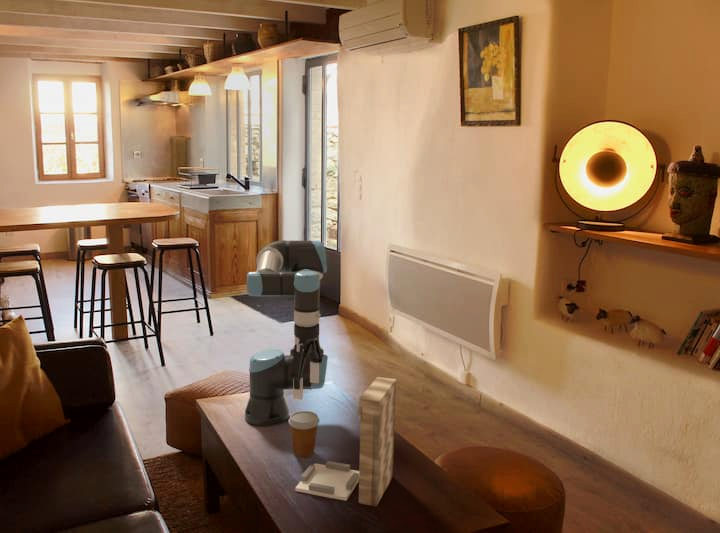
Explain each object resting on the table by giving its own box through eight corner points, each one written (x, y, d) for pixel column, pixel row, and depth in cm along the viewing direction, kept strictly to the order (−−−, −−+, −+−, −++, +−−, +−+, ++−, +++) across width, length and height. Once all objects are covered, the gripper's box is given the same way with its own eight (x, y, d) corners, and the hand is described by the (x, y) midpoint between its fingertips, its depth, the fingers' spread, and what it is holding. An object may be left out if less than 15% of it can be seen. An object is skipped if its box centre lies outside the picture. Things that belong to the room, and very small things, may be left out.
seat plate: (315, 466, 205) (315, 458, 204) (362, 474, 200) (363, 467, 200) (295, 491, 191) (295, 482, 190) (346, 500, 186) (346, 492, 186)
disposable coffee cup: (314, 461, 208) (314, 424, 205) (284, 457, 210) (284, 421, 207) (322, 447, 217) (322, 412, 215) (293, 444, 219) (293, 409, 216)
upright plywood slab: (374, 473, 201) (377, 376, 195) (392, 476, 200) (396, 379, 194) (356, 502, 186) (359, 398, 180) (376, 506, 184) (379, 401, 178)
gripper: (302, 336, 192) (302, 407, 196) (332, 313, 215) (331, 377, 220) (278, 333, 194) (278, 403, 198) (310, 311, 217) (309, 374, 222)
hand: (306, 390), depth 209 cm, fingers open, 13 cm apart
